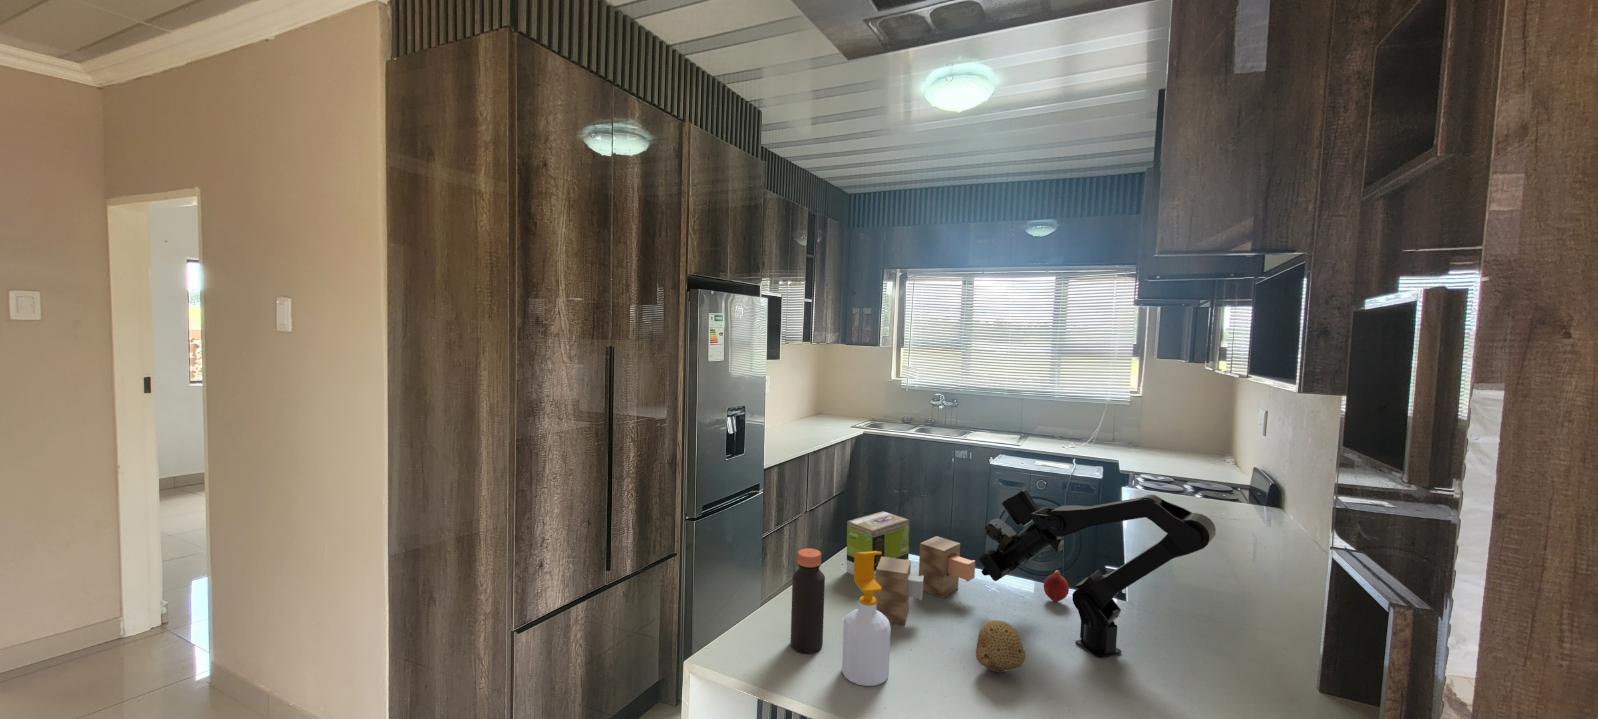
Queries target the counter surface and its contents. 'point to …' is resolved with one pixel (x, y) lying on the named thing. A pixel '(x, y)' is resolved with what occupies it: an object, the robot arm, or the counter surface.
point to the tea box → (877, 537)
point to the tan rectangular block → (961, 567)
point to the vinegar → (807, 603)
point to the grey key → (915, 586)
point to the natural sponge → (999, 647)
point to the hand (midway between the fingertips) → (983, 573)
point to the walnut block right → (938, 565)
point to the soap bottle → (866, 630)
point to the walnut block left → (893, 589)
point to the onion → (1056, 587)
